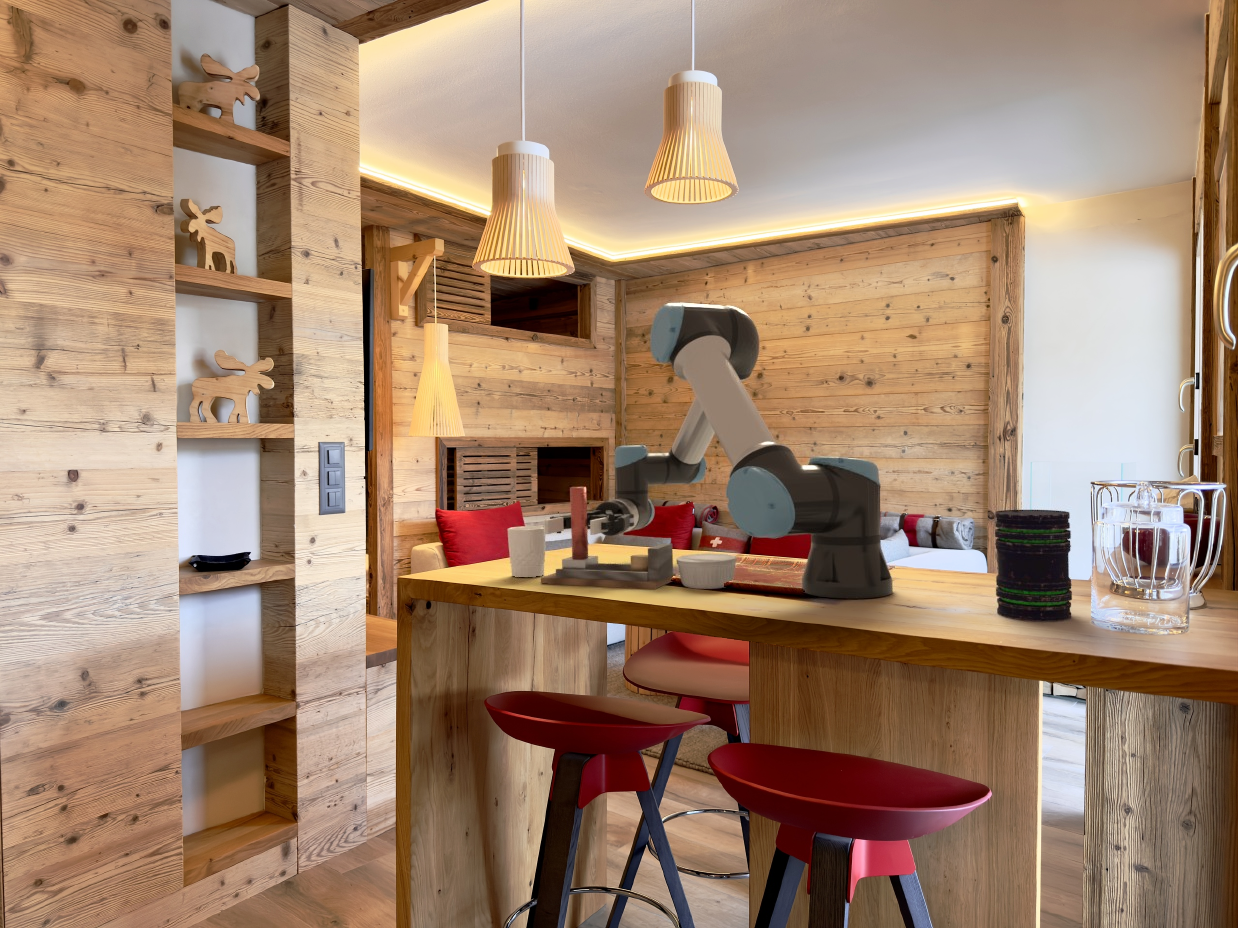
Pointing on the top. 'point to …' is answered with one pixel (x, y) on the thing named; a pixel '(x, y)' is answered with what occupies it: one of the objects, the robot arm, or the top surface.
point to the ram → (579, 533)
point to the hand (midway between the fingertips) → (569, 527)
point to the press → (621, 573)
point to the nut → (639, 563)
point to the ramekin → (706, 570)
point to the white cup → (527, 550)
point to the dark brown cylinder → (1033, 565)
